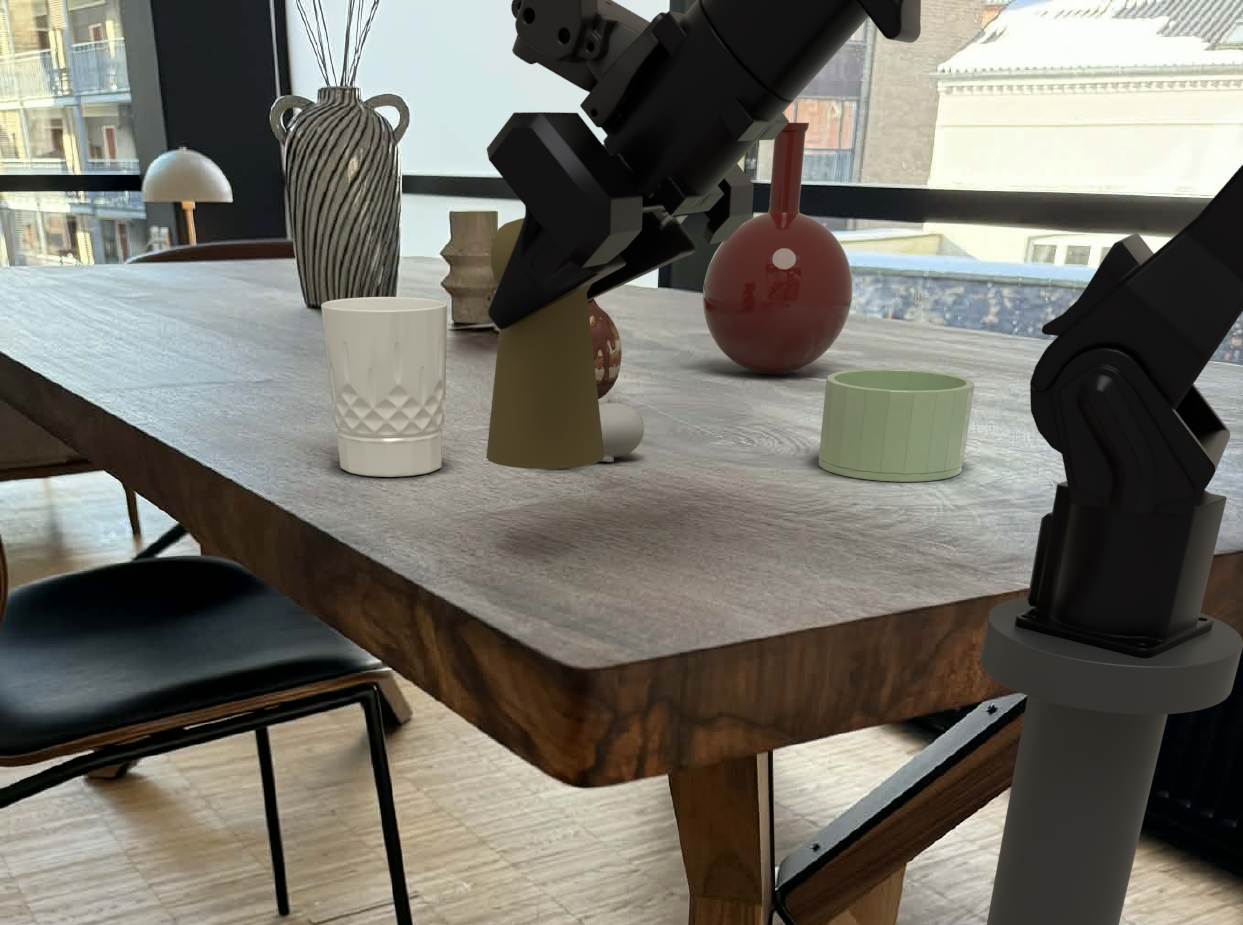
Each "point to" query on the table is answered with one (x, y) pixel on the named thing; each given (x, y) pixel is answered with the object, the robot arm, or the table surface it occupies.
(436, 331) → the white cup
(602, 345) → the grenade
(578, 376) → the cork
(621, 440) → the pale two-lobed sculpture
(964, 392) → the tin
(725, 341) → the round-bottom flask
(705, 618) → the table surface
